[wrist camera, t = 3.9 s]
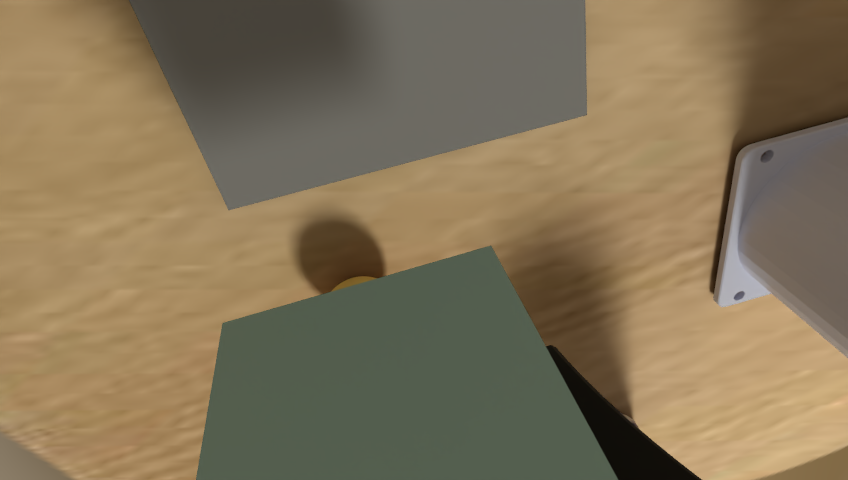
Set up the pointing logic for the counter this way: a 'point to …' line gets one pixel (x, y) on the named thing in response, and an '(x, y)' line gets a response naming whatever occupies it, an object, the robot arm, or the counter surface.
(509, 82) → the charcoal mat
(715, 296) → the robot arm
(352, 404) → the teal cover
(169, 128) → the counter surface
